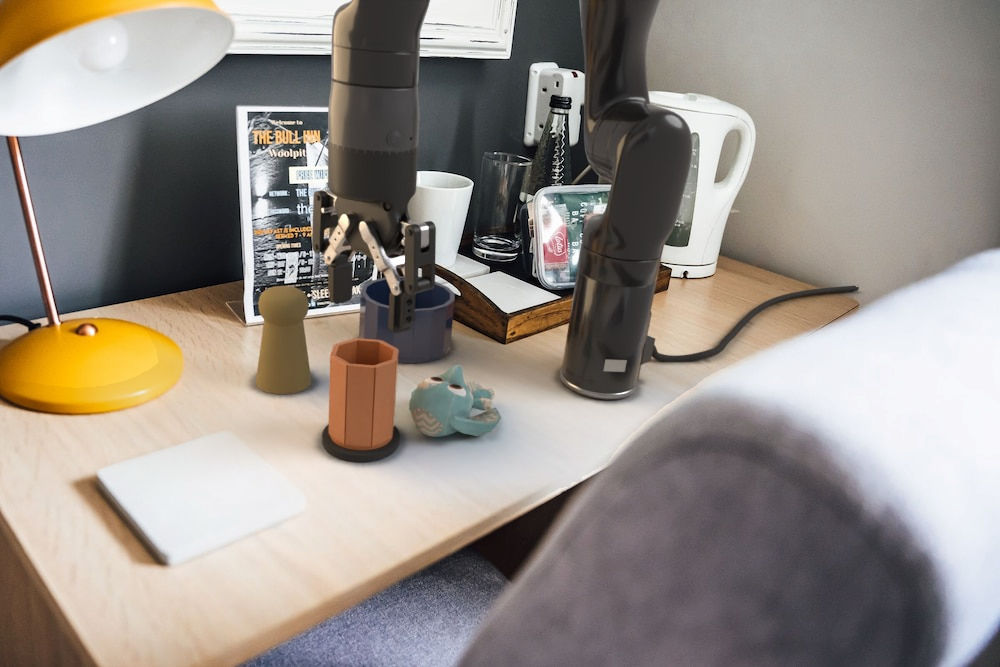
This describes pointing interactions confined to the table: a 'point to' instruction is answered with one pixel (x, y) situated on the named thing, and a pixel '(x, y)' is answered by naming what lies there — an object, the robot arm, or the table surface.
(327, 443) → the disc
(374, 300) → the big pot
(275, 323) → the olive brown pawn
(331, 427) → the copper pot
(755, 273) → the table surface
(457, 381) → the stuffed animal
